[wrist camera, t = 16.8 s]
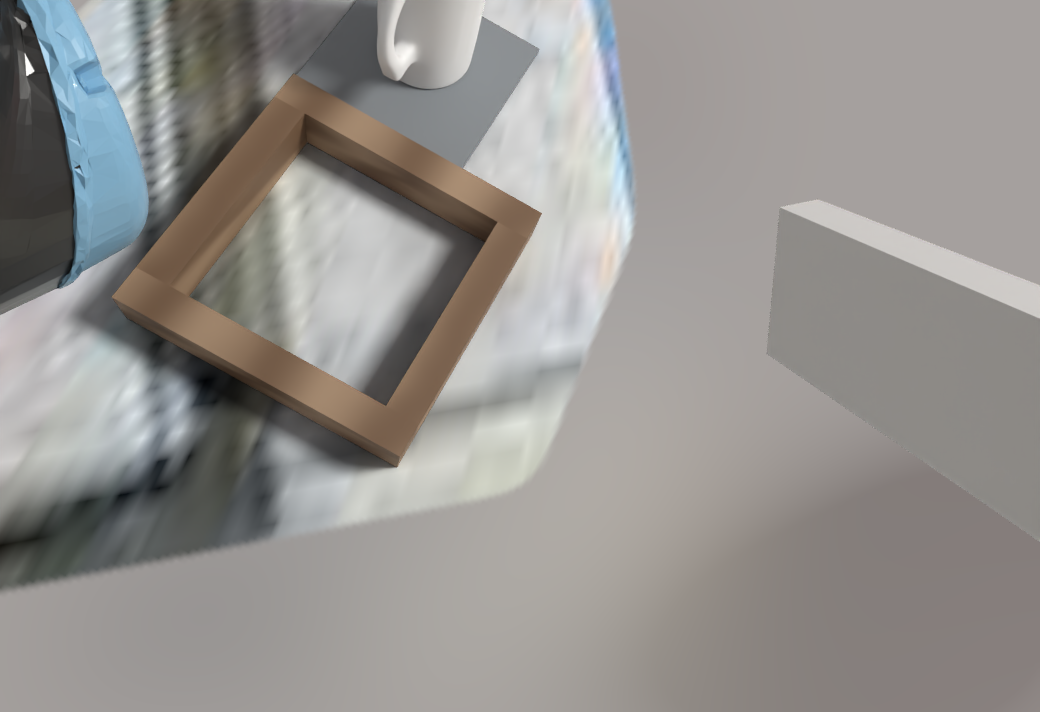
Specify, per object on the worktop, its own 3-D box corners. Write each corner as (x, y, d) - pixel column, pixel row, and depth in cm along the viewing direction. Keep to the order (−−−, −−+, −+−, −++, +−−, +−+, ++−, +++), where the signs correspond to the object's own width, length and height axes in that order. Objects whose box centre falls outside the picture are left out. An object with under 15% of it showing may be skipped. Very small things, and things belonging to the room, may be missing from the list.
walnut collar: (126, 318, 43) (111, 297, 40) (296, 104, 50) (293, 73, 47) (396, 467, 44) (400, 456, 41) (531, 236, 50) (541, 213, 47)
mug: (403, -7, 54) (416, -172, 42) (491, 39, 54) (526, -114, 43) (329, 98, 50) (321, -54, 39) (424, 147, 50) (443, 10, 39)
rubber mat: (291, 85, 50) (291, 81, 50) (387, -33, 54) (387, -38, 54) (456, 178, 50) (457, 174, 50) (538, 52, 55) (539, 49, 54)
